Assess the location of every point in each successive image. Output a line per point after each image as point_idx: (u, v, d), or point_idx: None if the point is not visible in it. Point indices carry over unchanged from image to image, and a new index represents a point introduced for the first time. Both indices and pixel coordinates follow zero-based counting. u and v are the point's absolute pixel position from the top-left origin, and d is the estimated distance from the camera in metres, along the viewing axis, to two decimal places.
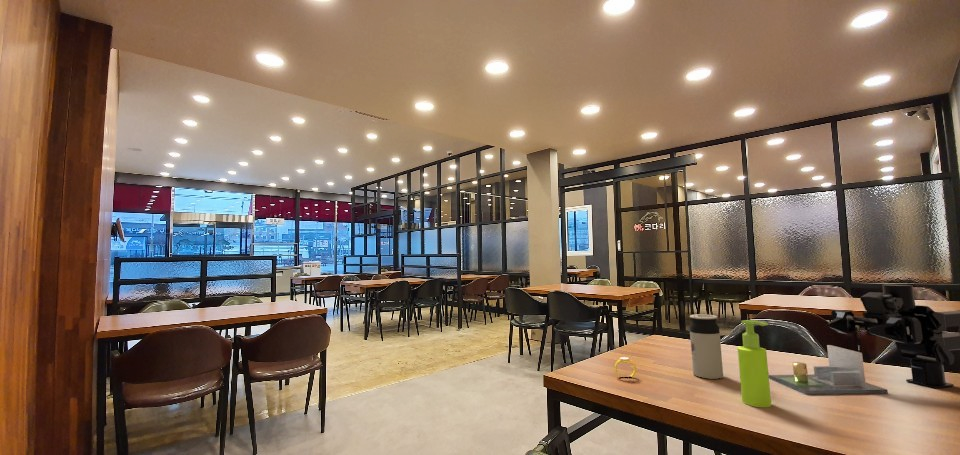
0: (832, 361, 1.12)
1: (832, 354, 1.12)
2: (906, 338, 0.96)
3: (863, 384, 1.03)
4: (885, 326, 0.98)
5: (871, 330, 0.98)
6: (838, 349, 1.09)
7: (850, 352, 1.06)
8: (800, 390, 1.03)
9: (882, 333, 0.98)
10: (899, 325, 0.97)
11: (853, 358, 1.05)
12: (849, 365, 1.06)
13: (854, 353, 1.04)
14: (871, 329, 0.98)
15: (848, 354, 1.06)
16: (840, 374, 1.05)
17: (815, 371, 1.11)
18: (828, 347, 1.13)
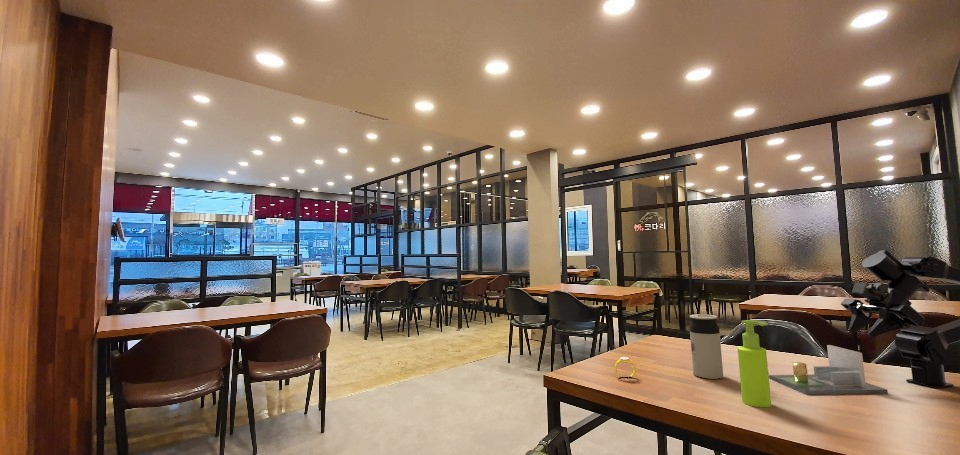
0: (832, 361, 1.12)
1: (832, 354, 1.12)
2: (904, 324, 1.02)
3: (863, 384, 1.03)
4: (880, 324, 1.04)
5: (871, 334, 1.05)
6: (838, 349, 1.09)
7: (850, 352, 1.06)
8: (800, 390, 1.03)
9: (882, 330, 1.05)
10: (890, 316, 1.03)
11: (853, 358, 1.05)
12: (849, 365, 1.06)
13: (854, 353, 1.04)
14: (870, 333, 1.05)
15: (848, 354, 1.06)
16: (840, 374, 1.05)
17: (815, 371, 1.11)
18: (828, 347, 1.13)
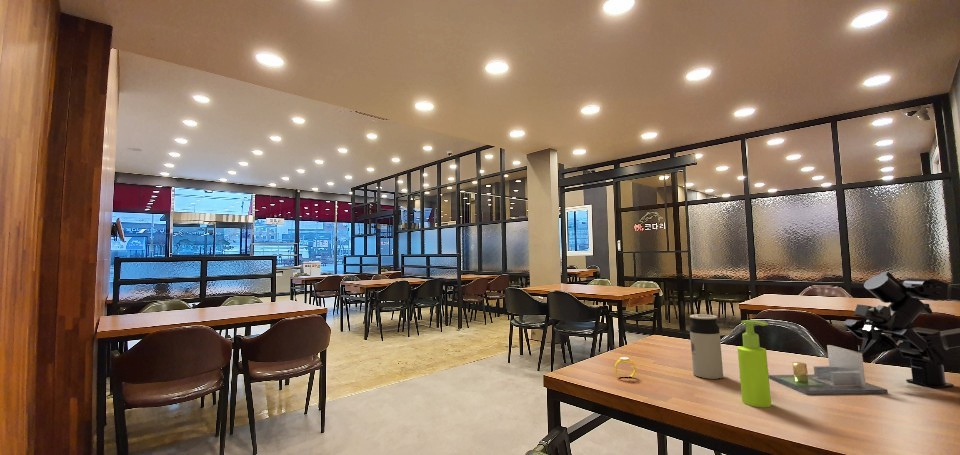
0: (832, 361, 1.12)
1: (832, 354, 1.12)
2: (896, 346, 1.04)
3: (863, 384, 1.03)
4: (873, 345, 1.07)
5: (865, 355, 1.08)
6: (838, 349, 1.09)
7: (850, 352, 1.06)
8: (800, 390, 1.03)
9: (875, 351, 1.07)
10: (883, 338, 1.06)
11: (853, 358, 1.05)
12: (849, 365, 1.06)
13: (854, 353, 1.04)
14: (864, 354, 1.08)
15: (848, 354, 1.06)
16: (840, 374, 1.05)
17: (815, 371, 1.11)
18: (828, 347, 1.13)
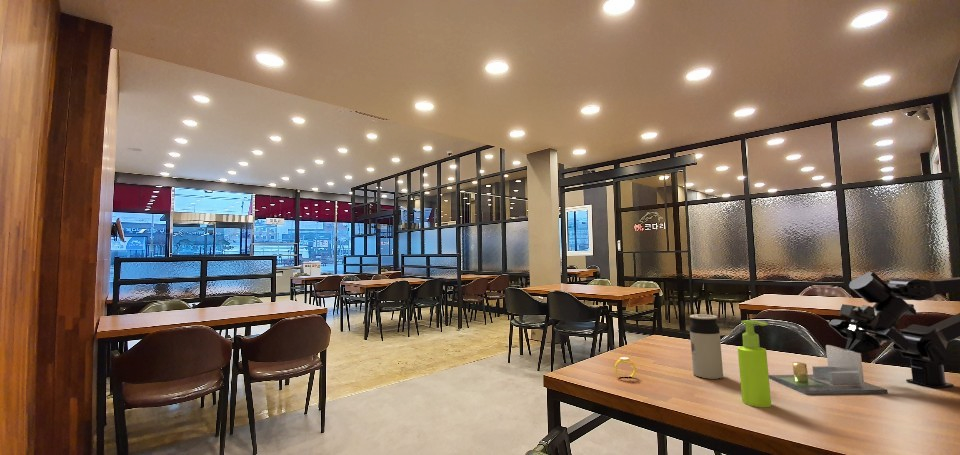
0: (831, 361, 1.12)
1: (831, 354, 1.12)
2: (879, 346, 1.05)
3: (862, 384, 1.03)
4: (857, 345, 1.07)
5: None
6: (837, 349, 1.10)
7: (849, 352, 1.06)
8: (800, 390, 1.03)
9: (859, 351, 1.07)
10: (866, 338, 1.06)
11: (852, 358, 1.05)
12: (848, 365, 1.06)
13: (853, 353, 1.05)
14: None
15: (847, 354, 1.06)
16: (839, 374, 1.05)
17: (814, 371, 1.11)
18: (827, 347, 1.13)
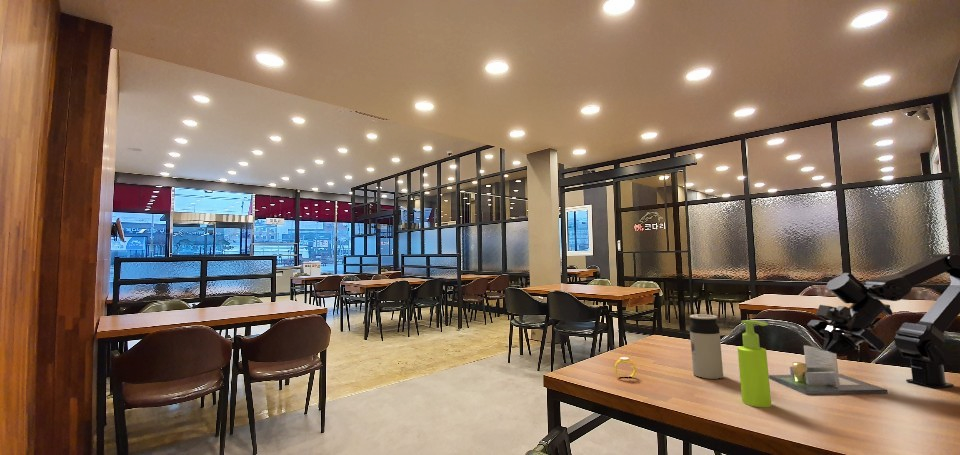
0: (809, 361, 1.12)
1: (808, 354, 1.12)
2: (855, 346, 1.05)
3: (837, 384, 1.03)
4: (833, 345, 1.07)
5: None
6: (814, 349, 1.10)
7: (825, 352, 1.06)
8: (800, 390, 1.03)
9: (835, 352, 1.07)
10: (843, 338, 1.06)
11: (828, 358, 1.05)
12: (824, 365, 1.07)
13: (829, 353, 1.05)
14: None
15: (823, 354, 1.07)
16: (815, 374, 1.05)
17: (791, 371, 1.11)
18: (805, 347, 1.13)
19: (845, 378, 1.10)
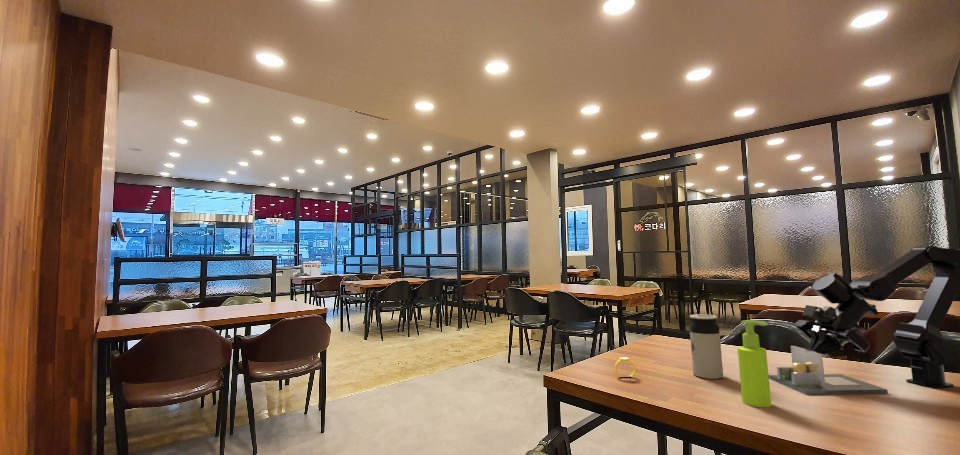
0: None
1: (795, 355, 1.12)
2: (841, 346, 1.05)
3: (823, 385, 1.03)
4: (819, 345, 1.07)
5: None
6: (800, 350, 1.10)
7: (811, 353, 1.06)
8: (800, 390, 1.03)
9: (821, 352, 1.08)
10: (828, 338, 1.06)
11: (814, 358, 1.05)
12: (810, 366, 1.07)
13: (814, 354, 1.05)
14: None
15: (809, 355, 1.07)
16: (801, 375, 1.05)
17: (778, 372, 1.11)
18: (792, 348, 1.13)
19: (845, 378, 1.10)
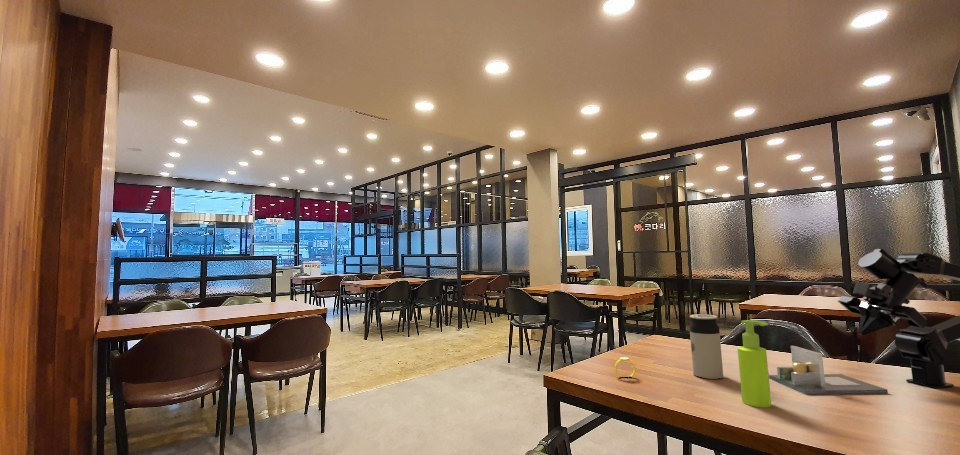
0: None
1: (795, 355, 1.12)
2: (894, 323, 1.05)
3: (823, 385, 1.03)
4: (872, 323, 1.07)
5: (863, 332, 1.08)
6: (800, 350, 1.10)
7: (811, 353, 1.06)
8: (800, 390, 1.03)
9: (873, 329, 1.07)
10: (882, 315, 1.06)
11: (814, 358, 1.05)
12: (810, 366, 1.07)
13: (815, 354, 1.05)
14: (862, 332, 1.08)
15: (809, 355, 1.07)
16: (801, 375, 1.05)
17: (778, 372, 1.11)
18: (792, 348, 1.13)
19: (845, 378, 1.10)
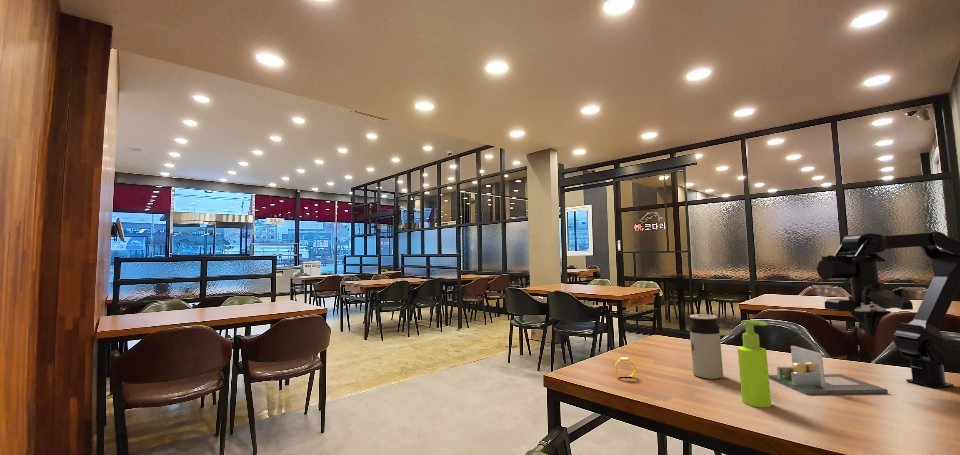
0: None
1: (795, 355, 1.12)
2: None
3: (823, 385, 1.03)
4: None
5: None
6: (800, 350, 1.10)
7: (811, 353, 1.06)
8: (800, 390, 1.03)
9: None
10: None
11: (814, 358, 1.05)
12: (810, 366, 1.07)
13: (815, 354, 1.05)
14: None
15: (809, 355, 1.07)
16: (801, 375, 1.05)
17: (778, 372, 1.11)
18: (792, 348, 1.13)
19: (845, 378, 1.10)
